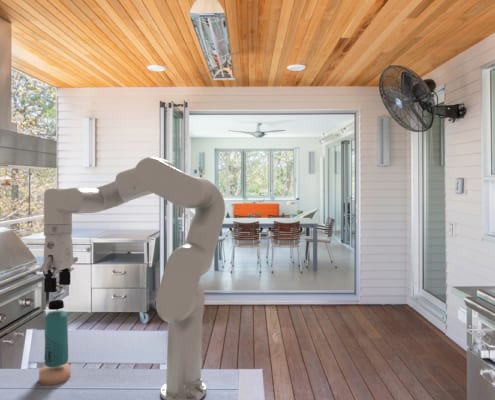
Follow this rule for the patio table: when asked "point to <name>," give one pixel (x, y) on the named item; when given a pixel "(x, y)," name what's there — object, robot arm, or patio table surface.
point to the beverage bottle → (56, 335)
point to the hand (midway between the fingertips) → (57, 288)
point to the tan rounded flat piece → (54, 374)
